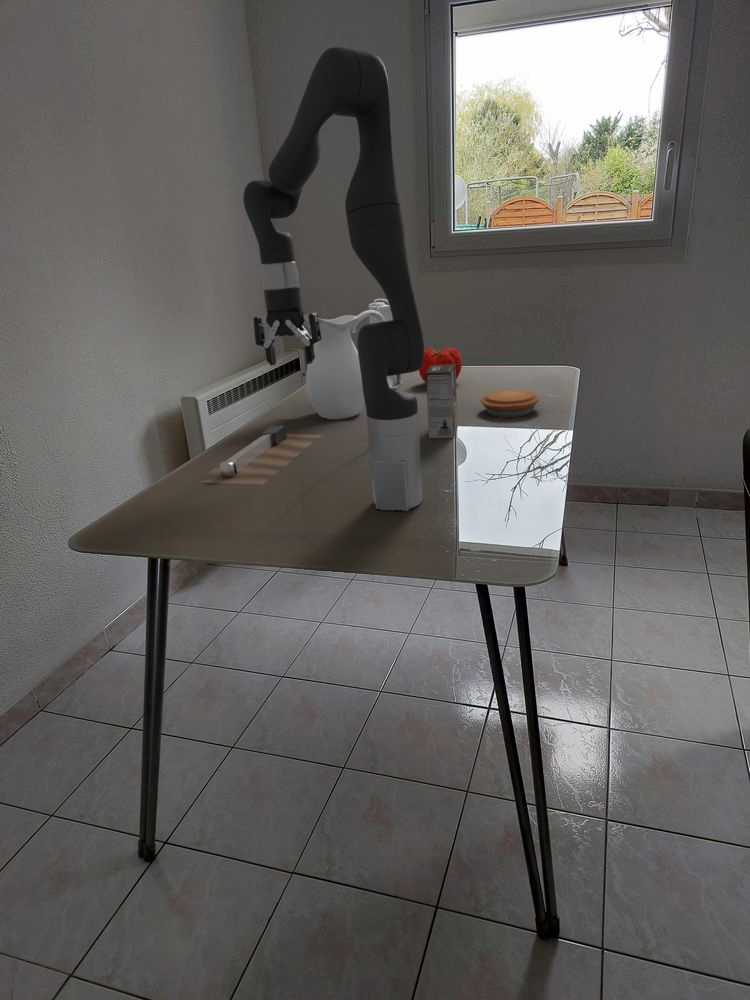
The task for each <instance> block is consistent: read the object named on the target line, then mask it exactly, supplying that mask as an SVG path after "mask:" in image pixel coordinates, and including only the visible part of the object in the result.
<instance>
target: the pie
mask: <svg viewBox="0 0 750 1000" xmlns="http://www.w3.org/2000/svg"><path fill="white" fill-rule="evenodd" d="M479 401H480V402H481V404H482V405H483V407H484V408H485V409H486V411H487V413H488V414H490V415H491V416H494V415H495V416H494V417H499V416H501V417H500V418H516V416H517V417H522V415H523V416H527V415H529V414H530V413H532V410H534V408H535V405H537V404H538V403H539V401H540V396H539V395H538V394H535V393H533V392H531V391H529V390H525V389H524V390H523V389H501V390H494V391H491V392H489V393H487V394H485V395H484V396H482V397H480V399H479Z"/></svg>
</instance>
